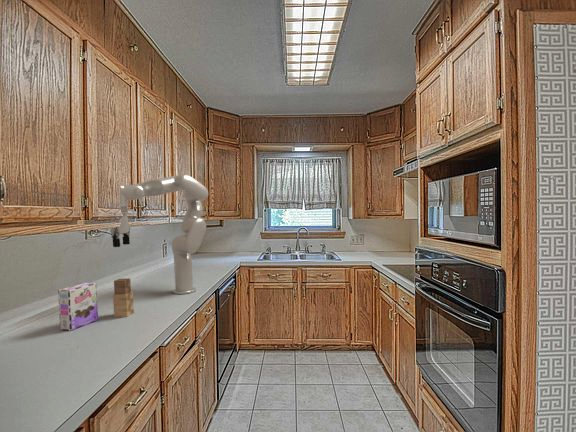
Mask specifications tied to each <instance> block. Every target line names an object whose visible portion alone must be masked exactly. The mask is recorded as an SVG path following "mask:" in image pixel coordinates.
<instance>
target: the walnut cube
mask: <svg viewBox="0 0 576 432" xmlns="http://www.w3.org/2000/svg"><path fill="white" fill-rule="evenodd" d="M131 285H132V284H131V278H125V277H124V278H118V279H115V280H114V281H113V287H114V294H127V293H129V292H131V291H132V288H131V287H132V286H131Z"/></svg>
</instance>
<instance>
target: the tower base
mask: <svg viewBox="0 0 576 432" xmlns="http://www.w3.org/2000/svg"><path fill="white" fill-rule="evenodd" d="M134 307H135V305H134V302H133V303H131V304H129V305H127V306H114V305H113V317H114V318H128V317H130V316H131V315H133V314H134V313H135V309H134Z"/></svg>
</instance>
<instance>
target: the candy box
mask: <svg viewBox="0 0 576 432" xmlns="http://www.w3.org/2000/svg"><path fill="white" fill-rule="evenodd" d="M57 292H58V311H59V314H58V315H59V330H62V331H63V330H64V331H69V332H72V331H74V330H76V329H78V328H82V327H84V326H87V325H89V324H92V323H95V322H96V321H97V322H98V321H99V312H98V311H99V310H98V309H99V308H98V295H97V293H98V292H97V283H96V282H83V283H81V284H77V285H72V286H69V287H65V288H64V287H63V288H62V289H61V288H60V289H58V290H57Z"/></svg>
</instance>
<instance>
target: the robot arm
mask: <svg viewBox="0 0 576 432" xmlns="http://www.w3.org/2000/svg"><path fill="white" fill-rule="evenodd" d="M181 191H184V192H183V196H184V197H183V198H184V199H185V201H186V204H187V208H186V209H187V210H186V212H185V215H184V218H183V220H182V221H181V226H180V230H181V232H182V233H184V234H185V235H184V234H179V235H176V236H174V237H173V239H172V240H171V249H172V255H173V262H174V263H173V265H174V266H173V267H174V284H175V288H174V289H173V290H172V294H176V295H185V294H191V293H194V292H196V291H197V288H196V287H194V280H193V277H194V276H193V260H192V255H191V254H195V253H197V251H199V249H200V246H201V244H202V242H203V239H204V236H205V234H206V231H207V223H206V221H205V220H204V218H202V214H203V210H204V209H203V205H202V202H204V201H206V200H207V199H208V197H209V190H208V189H207V187H206V186H205V185H203V184H202V183H201V182H200V181H198V180H196V179H195V178H194V177H192V176H190V175H188V174H177V175H171V176H168V177H161V178H155V179H152V180H149V181H144V182H138V183H133V185H132V184H129V185H128V186H127V185H124V184H122V185H121V186H120V204H121V212H122V214H123V217H122V218H121V219H120V220H119V223H121V225H120V226H121V227H116V228H110V229H109V230H110V235H111V240H112V246H113V248H120V247H121V238H120V235H122V245H130V243H131V242H130V230H131V227H130V226H129V225H130V224H129V217H127V216H128V214H129V213H128V212H129V211H128V201H135V200H140V199H142V198H143V197H144V198H145V197H154V196H162V195H166V194H170V193H177V192H181ZM127 199H129V200H127Z"/></svg>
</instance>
